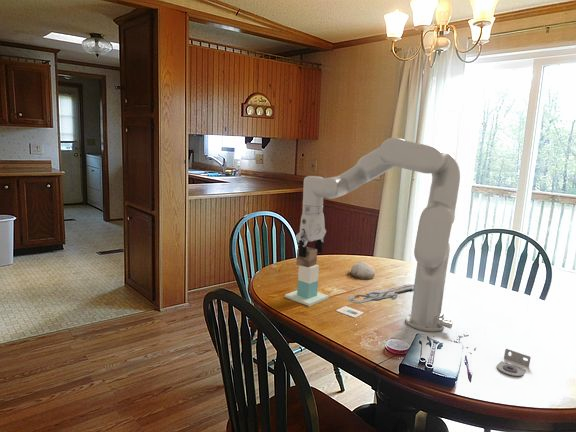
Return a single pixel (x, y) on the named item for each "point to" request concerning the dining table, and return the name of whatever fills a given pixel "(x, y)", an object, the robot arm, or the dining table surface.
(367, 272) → the stone
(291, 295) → the baseplate
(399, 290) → the gun
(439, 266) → the robot arm
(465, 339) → the dining table surface
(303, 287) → the teal brick
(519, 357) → the bracket
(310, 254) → the walnut brick
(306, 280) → the cream brick
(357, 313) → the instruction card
